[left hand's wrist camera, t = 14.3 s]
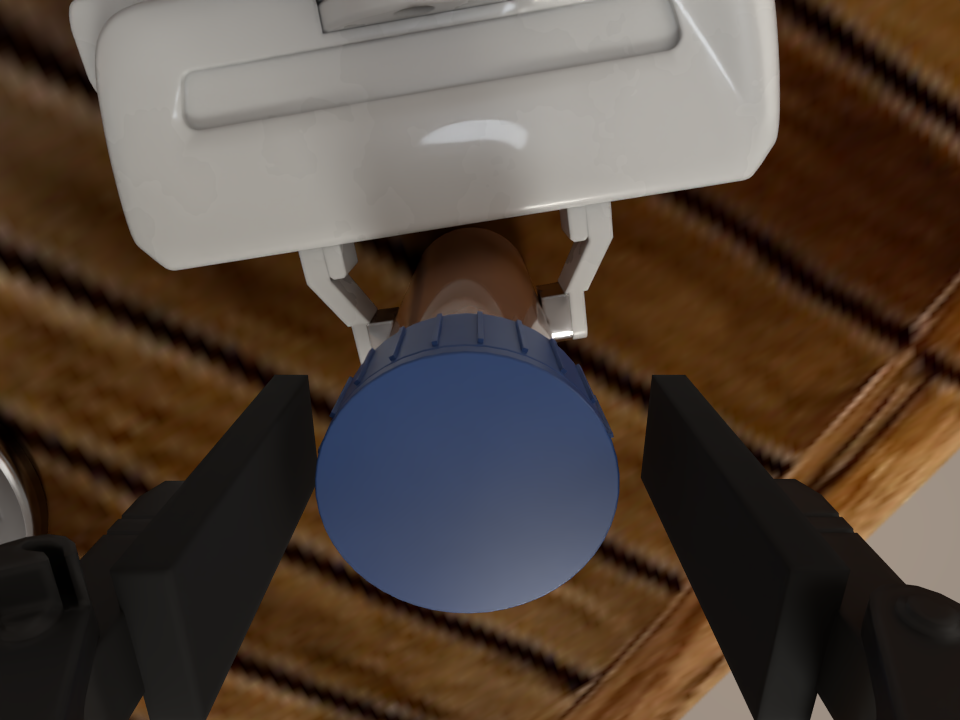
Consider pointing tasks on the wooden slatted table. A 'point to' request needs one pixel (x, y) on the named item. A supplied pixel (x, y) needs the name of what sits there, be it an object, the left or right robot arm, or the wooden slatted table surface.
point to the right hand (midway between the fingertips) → (476, 349)
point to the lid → (467, 466)
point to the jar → (471, 282)
